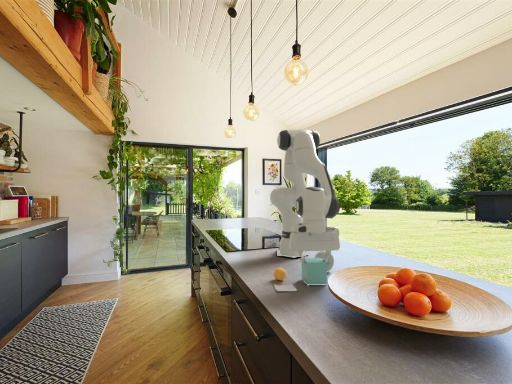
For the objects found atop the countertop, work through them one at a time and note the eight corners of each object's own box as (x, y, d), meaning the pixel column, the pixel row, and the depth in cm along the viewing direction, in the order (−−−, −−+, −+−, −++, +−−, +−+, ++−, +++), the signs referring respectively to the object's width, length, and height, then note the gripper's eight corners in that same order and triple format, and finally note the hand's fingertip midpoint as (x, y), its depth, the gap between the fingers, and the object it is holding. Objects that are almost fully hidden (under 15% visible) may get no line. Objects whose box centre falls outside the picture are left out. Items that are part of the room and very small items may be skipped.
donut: (330, 270, 120) (330, 248, 120) (335, 272, 117) (335, 250, 117) (312, 272, 116) (312, 250, 116) (316, 274, 113) (316, 252, 113)
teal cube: (301, 279, 107) (301, 258, 107) (319, 278, 108) (319, 257, 108) (307, 286, 99) (307, 263, 99) (326, 285, 100) (326, 262, 100)
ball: (272, 278, 108) (272, 266, 108) (284, 277, 109) (284, 266, 109) (275, 282, 103) (275, 269, 103) (287, 281, 104) (287, 269, 104)
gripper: (335, 226, 108) (335, 259, 107) (287, 226, 105) (287, 260, 105) (342, 227, 102) (342, 263, 101) (291, 228, 99) (291, 264, 99)
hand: (314, 261), depth 103 cm, fingers open, 8 cm apart
